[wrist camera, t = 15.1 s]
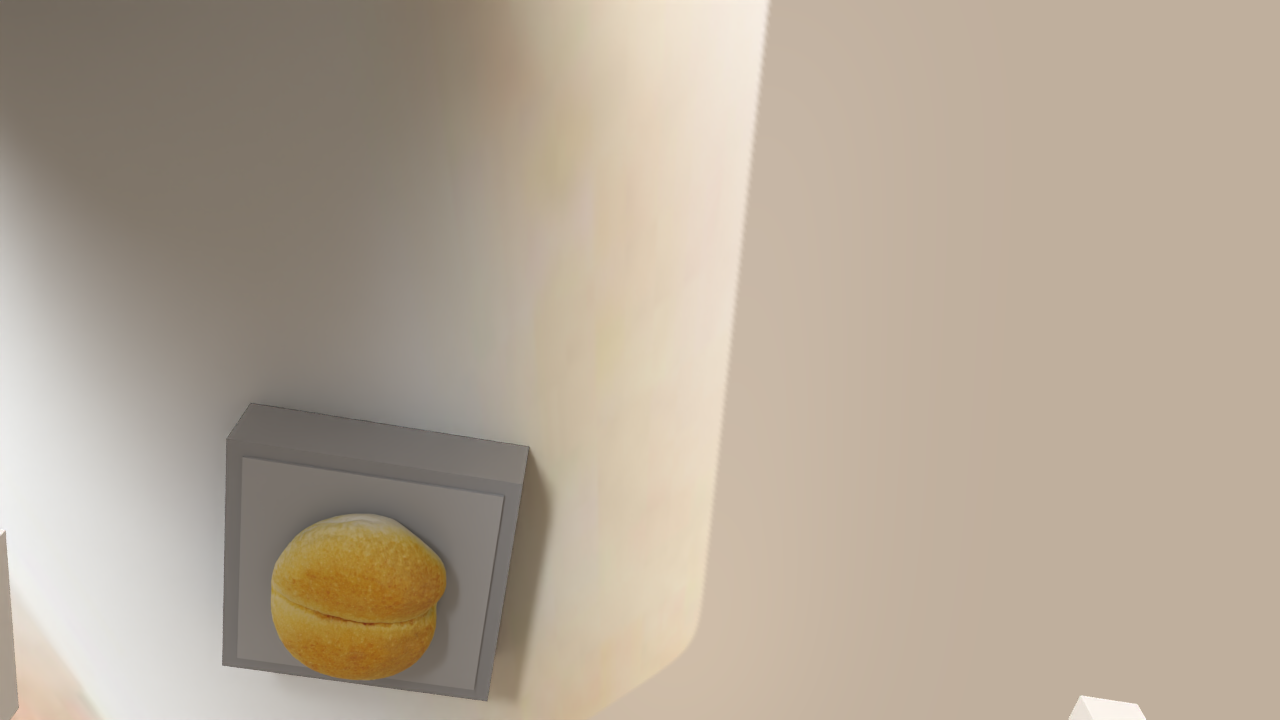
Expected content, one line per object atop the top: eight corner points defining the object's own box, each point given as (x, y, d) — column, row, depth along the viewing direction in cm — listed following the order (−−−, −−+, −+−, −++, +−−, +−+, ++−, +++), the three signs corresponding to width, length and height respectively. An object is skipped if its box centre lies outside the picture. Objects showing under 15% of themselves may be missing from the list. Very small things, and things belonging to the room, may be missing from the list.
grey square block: (244, 621, 59) (221, 667, 56) (250, 403, 53) (225, 440, 50) (494, 656, 60) (486, 703, 57) (529, 447, 54) (522, 485, 51)
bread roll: (460, 523, 52) (447, 574, 48) (427, 660, 56) (413, 717, 52) (289, 487, 51) (264, 536, 47) (268, 629, 55) (243, 685, 51)
